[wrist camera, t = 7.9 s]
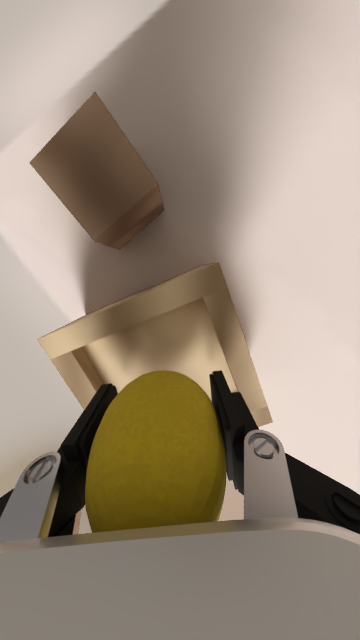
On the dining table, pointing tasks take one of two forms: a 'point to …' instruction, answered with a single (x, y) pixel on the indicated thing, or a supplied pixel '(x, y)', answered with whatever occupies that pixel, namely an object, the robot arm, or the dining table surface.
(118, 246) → the walnut cube
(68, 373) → the oak tray
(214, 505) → the lemon
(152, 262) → the dining table surface
